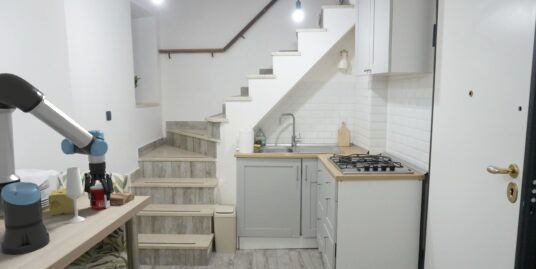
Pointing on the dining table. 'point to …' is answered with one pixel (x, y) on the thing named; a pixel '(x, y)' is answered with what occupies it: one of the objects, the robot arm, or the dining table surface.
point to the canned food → (97, 197)
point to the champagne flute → (74, 190)
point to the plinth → (121, 198)
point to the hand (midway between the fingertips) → (100, 206)
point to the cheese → (60, 203)
